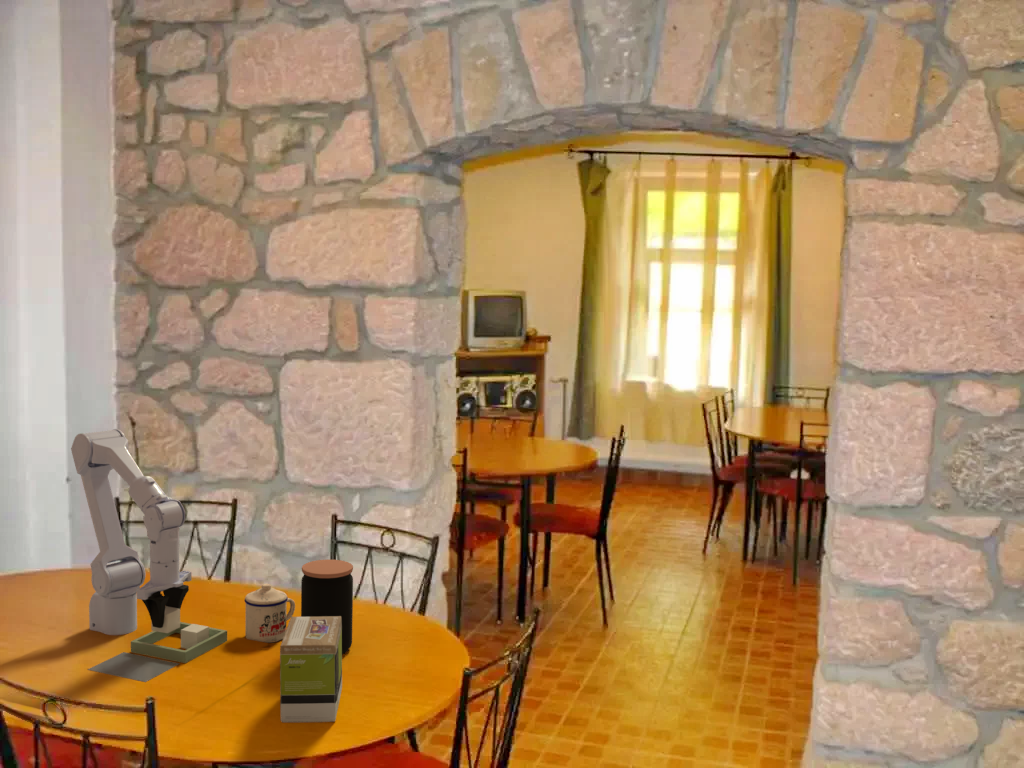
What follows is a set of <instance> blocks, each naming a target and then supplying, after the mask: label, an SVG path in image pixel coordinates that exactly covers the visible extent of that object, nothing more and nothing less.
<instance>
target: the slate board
mask: <svg viewBox="0 0 1024 768" xmlns="http://www.w3.org/2000/svg"><path fill="white" fill-rule="evenodd" d="M180 664H181V662H179V663H178V662H176V661H171V660H166V659H161V658H156V657H151V656H146V655H144V656H143V655H141V654H136V653H132V652H131V653H129V652H125V651H124V652H123V651H122V652H121V653H119V654H116V655H115V656H113V657H110V658H109V659H107V660H104V661H103V662H99V663H98V664H95V665H94V666H92V667H90V668H87V670H88V671H90V672H91V671H92V672H95V673H101V674H105V675H111V676H115V677H120V678H125V679H129V680H134V681H138V682H144V683H147V682H148V681H151V680H152V679H154V678H157V677H158V676H160V675H162V674H163V673H166V672H168V671H169V670H171V669H173V668H175V667H177V666H178V665H180Z"/></svg>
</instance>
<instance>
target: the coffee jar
mask: <svg viewBox="0 0 1024 768" xmlns="http://www.w3.org/2000/svg"><path fill="white" fill-rule="evenodd" d="M353 570H354V566H353V563H350V562H349V561H345V560H340V559H318V560H317V559H316V560H312V561H310V562H306V563H304V564H303V565H302V566H301V572H302V574H303V576H302V577H301V582H300V583H301V585H300V586H301V587H300V588H301V594H300V596H301V598H300V600H301V601H300V617H321V616H341V619H342V655H345V654H346V653H347V652H348V651H349V649H350V648H351V646H352V643H353V617H354V616H353V614H354V613H353V611H354V610H353V607H354V604H353V603H354V600H353V599H354V576H352V575H353V574H352V572H353Z"/></svg>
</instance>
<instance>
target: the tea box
mask: <svg viewBox="0 0 1024 768" xmlns="http://www.w3.org/2000/svg"><path fill="white" fill-rule="evenodd" d="M288 621H289V622H288V624H287V626H286V633H285V635H284V638H283V639H282V641H281V644H280V648H279V667H280V669H279V674H280V675H279V680H280V682H279V683H280V685H279V686H280V693H279V694H280V695H279V696H280V697H279V699H280V700H279V701H280V703H279V704H280V722H281V723H328V722H329V723H331V722H335V721H336V719H337V713H338V711H339V710H338V709H339V704H340V701H341V700H340V699H341V694H342V690H343V654H342V619H341V616H321V617H301V616H293V615H292V617H291V618H290V619H289V620H288Z"/></svg>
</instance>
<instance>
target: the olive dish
mask: <svg viewBox="0 0 1024 768" xmlns="http://www.w3.org/2000/svg"><path fill="white" fill-rule="evenodd" d="M192 624H193V623H188V622H184V621H183V622H182V621H180V628H178V629H176V630H173V631H171V632H169V633H163V632H157V631H152V630H151V632H150V631H149V632H148V633H146V634H143V635H142V636H140V637H138V638H134V640H133V639H132V640H130V652H131V653H132V654H137V655H141V656H143V655H144V656H146V657H151V658H156V659H161V660H166V661H171V662H176V663H178V662H179V663H183V664H187V663H188V662H191V661H192V660H195V659H196V658H198V657H199V656H202V655H204V654H205V653H207V652H209V651H210V650H213V649H215V648H217V647H218V646H221V645H223V644H224V643H225V642H226V643H227V641H228V630H227V629H220V628H215V627H210V626H208V627H209V638H208V639H206V640H204V641H202V642H200V643H198V644H196V645H194V646H192V647H190V648H188V649H185V650H184V649H179V648H173V647H169V646H165V645H160V644H159V645H158V644H156V643H157V642H160V641H161V640H163V639H165V638H168V637H169V636H171V635H173V634H180V635H181V630H182V629H184V628H186V627H188V626H190V625H192Z"/></svg>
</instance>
